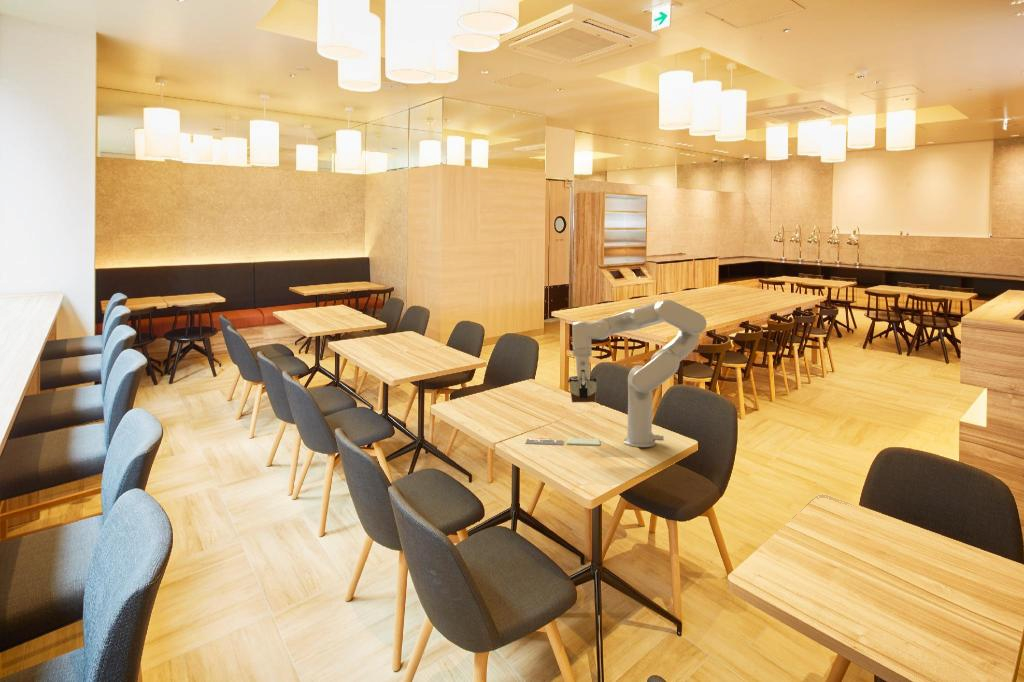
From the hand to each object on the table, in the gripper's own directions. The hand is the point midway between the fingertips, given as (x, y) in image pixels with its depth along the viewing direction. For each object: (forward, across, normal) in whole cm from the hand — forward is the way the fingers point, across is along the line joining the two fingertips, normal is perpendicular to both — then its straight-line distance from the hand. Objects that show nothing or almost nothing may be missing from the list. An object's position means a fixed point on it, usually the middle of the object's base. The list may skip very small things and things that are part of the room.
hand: (583, 396), depth 223 cm
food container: (+2, +1, 0) cm, 2 cm away
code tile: (+18, -1, +16) cm, 24 cm away
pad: (+19, 0, +1) cm, 19 cm away
